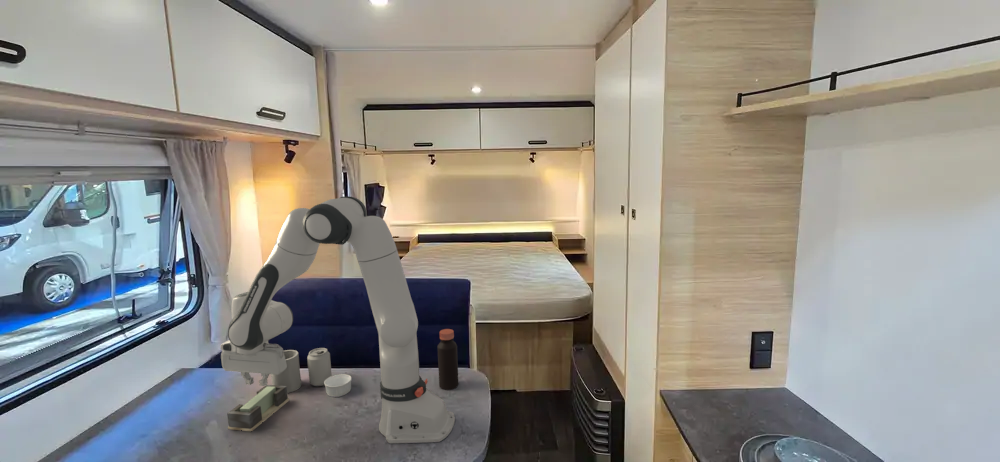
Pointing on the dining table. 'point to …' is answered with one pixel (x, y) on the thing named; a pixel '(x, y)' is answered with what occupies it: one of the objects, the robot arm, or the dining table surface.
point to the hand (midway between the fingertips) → (256, 384)
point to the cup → (289, 372)
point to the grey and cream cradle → (256, 411)
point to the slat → (261, 400)
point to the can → (319, 366)
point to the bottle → (447, 360)
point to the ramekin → (338, 385)
